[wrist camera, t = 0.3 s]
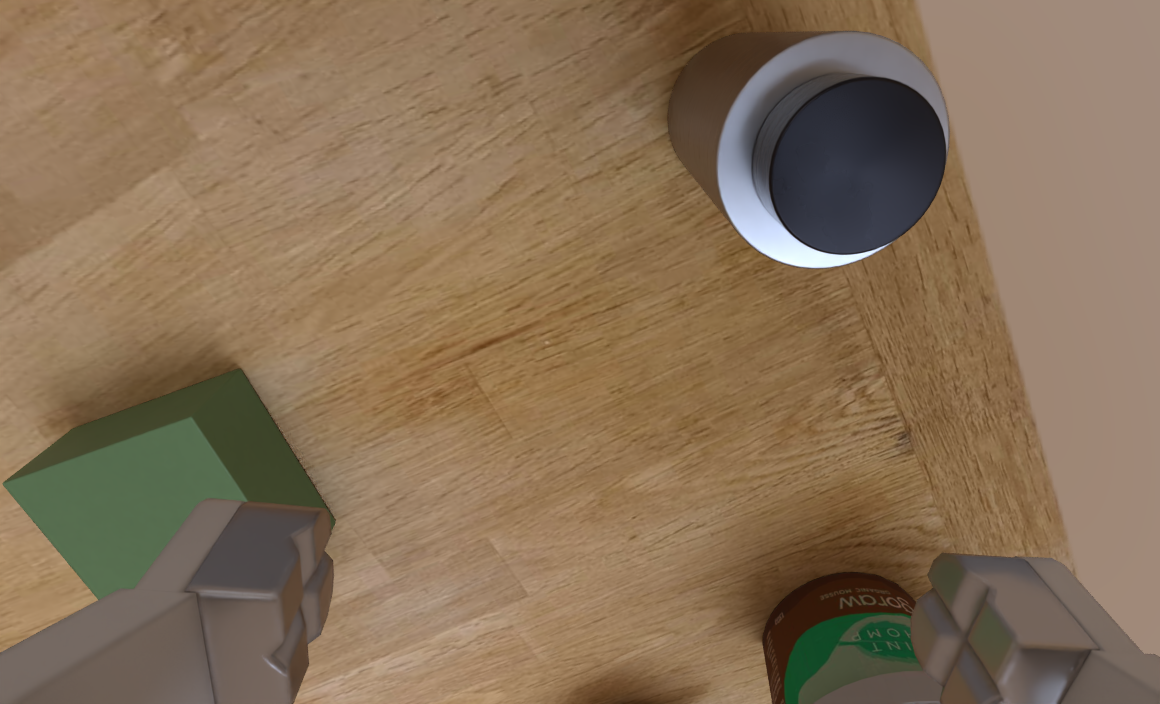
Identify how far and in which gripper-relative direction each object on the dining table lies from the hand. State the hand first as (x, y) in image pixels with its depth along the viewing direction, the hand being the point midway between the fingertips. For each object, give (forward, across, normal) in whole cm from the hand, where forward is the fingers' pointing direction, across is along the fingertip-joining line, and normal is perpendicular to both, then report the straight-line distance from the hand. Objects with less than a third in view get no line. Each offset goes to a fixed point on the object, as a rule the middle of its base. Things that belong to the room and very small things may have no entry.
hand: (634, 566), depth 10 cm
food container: (+24, -17, +22) cm, 37 cm away
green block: (+24, +18, +18) cm, 35 cm away
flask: (+24, -6, -3) cm, 26 cm away
